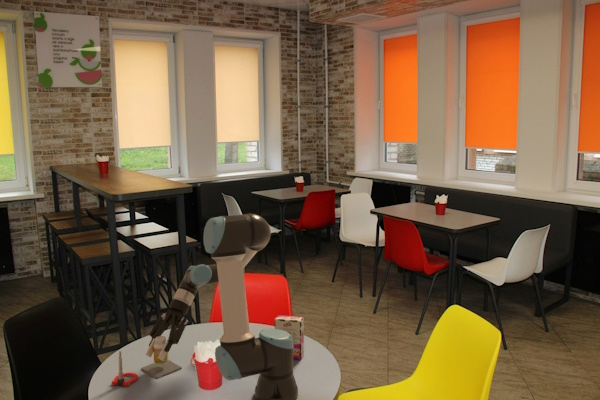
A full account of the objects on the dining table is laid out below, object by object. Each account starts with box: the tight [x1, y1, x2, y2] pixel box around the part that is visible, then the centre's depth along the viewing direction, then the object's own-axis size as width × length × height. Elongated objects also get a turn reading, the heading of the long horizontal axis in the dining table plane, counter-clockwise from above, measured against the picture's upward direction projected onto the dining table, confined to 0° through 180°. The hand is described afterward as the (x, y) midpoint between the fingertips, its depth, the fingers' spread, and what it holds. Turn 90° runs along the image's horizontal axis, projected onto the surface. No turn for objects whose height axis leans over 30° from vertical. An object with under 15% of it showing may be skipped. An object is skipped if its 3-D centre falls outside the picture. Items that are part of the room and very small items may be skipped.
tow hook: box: [111, 350, 139, 387], centre depth 201 cm, size 8×13×9 cm
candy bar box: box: [274, 314, 305, 361], centre depth 220 cm, size 11×5×16 cm, turn 76°
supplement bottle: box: [153, 335, 169, 365], centre depth 209 cm, size 5×5×10 cm
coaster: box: [140, 359, 183, 380], centre depth 210 cm, size 11×11×1 cm
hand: (154, 357), depth 206 cm, fingers closed on supplement bottle, 5 cm apart
